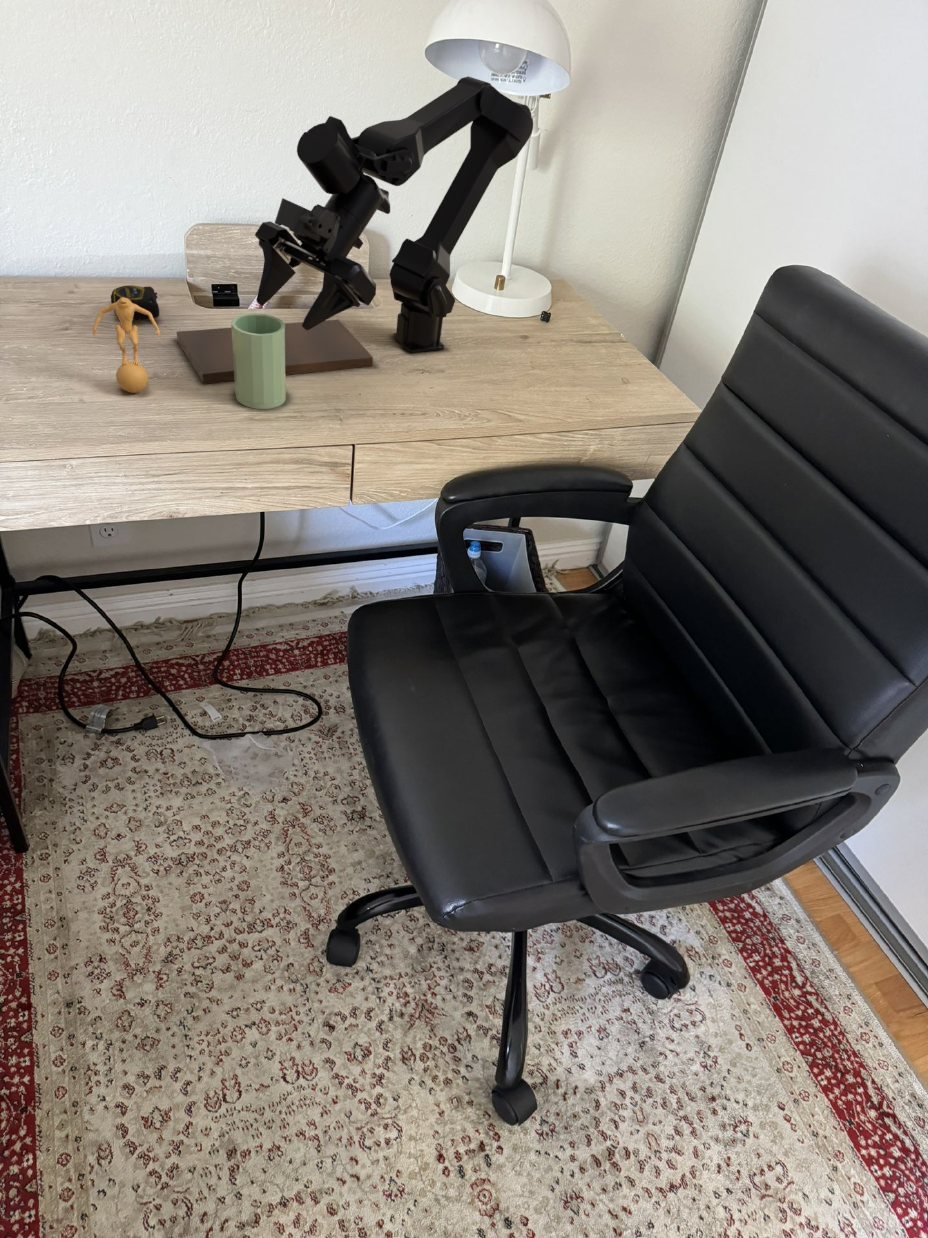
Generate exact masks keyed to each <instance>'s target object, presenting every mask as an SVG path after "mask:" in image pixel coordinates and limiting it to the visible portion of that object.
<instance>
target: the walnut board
mask: <svg viewBox="0 0 928 1238" xmlns="http://www.w3.org/2000/svg"><path fill="white" fill-rule="evenodd" d="M284 324H285V358H286V376H290V375H291V376H292V375H301V374H310V373H319V372H329V371H338V370H347V369H357V368H366V367H367V368H369V367H373V362H374V357H373V355H372V354H371V353H370V352H369V351H368V350H367V349H366V347H364V346H363V344H362V343H361V342H360V341H359V339H357V338H356V336H354V334H352V332H351V331H350V330H349V329H348V328H347V327H346V326H345V325H344V324H343V323H342V322H341V320H340V319H327V320H325V321H323V322H322V323H320V324H318V325H316V326H315V327H313V328H311V329H310V330H305V329H304V328H303V327H302V324H303V321H299V322H286V323H284ZM176 339H177V340H176V341H177V342H178V344H179V346H180V348H181V350H182V351H183V352H184V354H185V356H186V358H187V359H188V361H189V362H190V364H191V366H192V368H193V370H194V371H195V373H196V374H197V376H198V378H199V379H200V381H201V382H202V384H203V385H205V384H213V383H214V384H215V383H222V382H224V383H225V382H232V381H234V382H235V380H234V363H233V345H232V328H231V327H221V328H220V327H219V328H207V329H193V330H181V331H180V330H179V331H176Z"/></svg>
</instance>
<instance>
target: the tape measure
mask: <svg viewBox="0 0 928 1238" xmlns="http://www.w3.org/2000/svg"><path fill="white" fill-rule="evenodd" d="M121 297H123V298H127V299H129V300H130V301H131V302H132V303H133V304H136V305H138V306H139V307H141V308H143V309H145V310H147V311H149V312H150V313H151V314H152V316H153V319H154V320H155V319H157V318H159V316H160V307H159V303H158V301H157V299H158V292H155V289H154V288H153V287H152V286H139V285H132V284H131V285H130V284H129V285H121V286H117V287H115V288H114V289H113V290H112V292H111V295H110V305H111V304H112V303H116V302H117V301H118V300H119V299H120V298H121ZM113 312H114V314H116V311H115V310H113ZM146 320H150V318H149V316H148V315H145V314H143V313H140V312H137V311H135V312H134V316H133V320H132V321H146Z"/></svg>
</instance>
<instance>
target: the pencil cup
mask: <svg viewBox="0 0 928 1238" xmlns="http://www.w3.org/2000/svg"><path fill="white" fill-rule="evenodd" d="M230 326H231V327H230V328H232V345H233V363H234V393H235V399H236V401H237V402H238V403H239V404H241V405H243V406H244V407H248V408H251V409H255V410H256V409H257V410H270V409H274V408H275V409H276V408H277V407H280V406H282V405H283V404H284V403H285V402H286V400H287V398H286V397H287V395H286V394H287V383H286V382H287V375H286V358H285V323H284V321H283V320H282V319H280V318H278V317H276V316H273V315H270V314H266V313H256V312H255V313H244V314H240V315H237V316H235V317H234V318H233V319H232V320H231V324H230Z"/></svg>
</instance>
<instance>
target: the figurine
mask: <svg viewBox="0 0 928 1238" xmlns="http://www.w3.org/2000/svg"><path fill="white" fill-rule="evenodd" d="M114 310H115V311H116V313H115V315H116V316H117V317H118V320H119V322H120V324H116V325H115V331H116V341H117V345H118V347H119V350H120V351H121V356H122V362H121V365H119V366H118V368H117V370H116V373H115V378H116V381H117V384H118V385H119V387H120V388H121V389H122V390H124V391H126V392H128V393H131V394H137V393H140V392H142V391H143V390H145V389H146V387H147V385H148V384H149V383H148V382H149V375H148V372H147V370H146V369H145V368H144V366H142V365H141V364H140V363H139V358H138V357H139V356H138V350H139V346H138V344H139V335H138V334H139V327H138V326H137V325H133V321H134V320H133V316H134V312H135V311H137V312H140V313H143V314H145V315H148V316H149V318H150V319H149V320H150V322H151V324H152V326H153V328H154V329H155V330H156V331H155V335H157V338H158V339H160V338H162V333H161V331H160V328H159V327H158V324H157V322H156V321H155V318H154V319H153V316H152V314H151V313H150V312H149V311H147V310H145V309H143V308H141V307H139V306H138V305H136V304H133V303H132V302H131V301H130V300H129V299H127V298H123V297H121V298H120V299H119V300H118V301H117V302H116V303H112V304H111V303H110V304H109V305H107V306H105V307H103V308H101V309H100V310H99V311H98V313H97V317H96V319H95V321H94V325H93V327H92V335H93V336H94V337H96V335H97V333H98V330H97V327H98V326H99V324H100V322H101V319H102V317H103V314H107V313H110V312H112V311H114ZM126 334H128V338H129V340H130V341H131V343H132V345H133V346H132V350H133V360H132V361H128V358H127V351H126V346H125V345H124V342H125V341H126Z"/></svg>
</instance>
